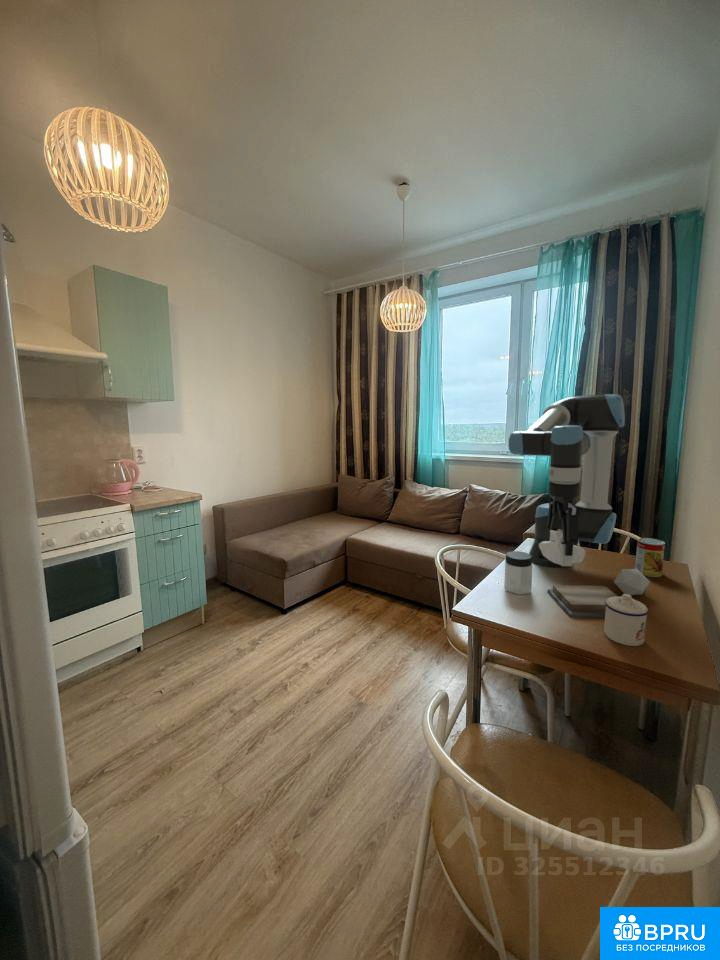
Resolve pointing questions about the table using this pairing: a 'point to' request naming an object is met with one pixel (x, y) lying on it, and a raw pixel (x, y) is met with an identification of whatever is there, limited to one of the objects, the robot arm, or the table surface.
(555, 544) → the bust
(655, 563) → the canned food
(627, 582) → the die
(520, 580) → the jar
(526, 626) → the table surface
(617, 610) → the teacup with lid
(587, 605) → the pedestal
